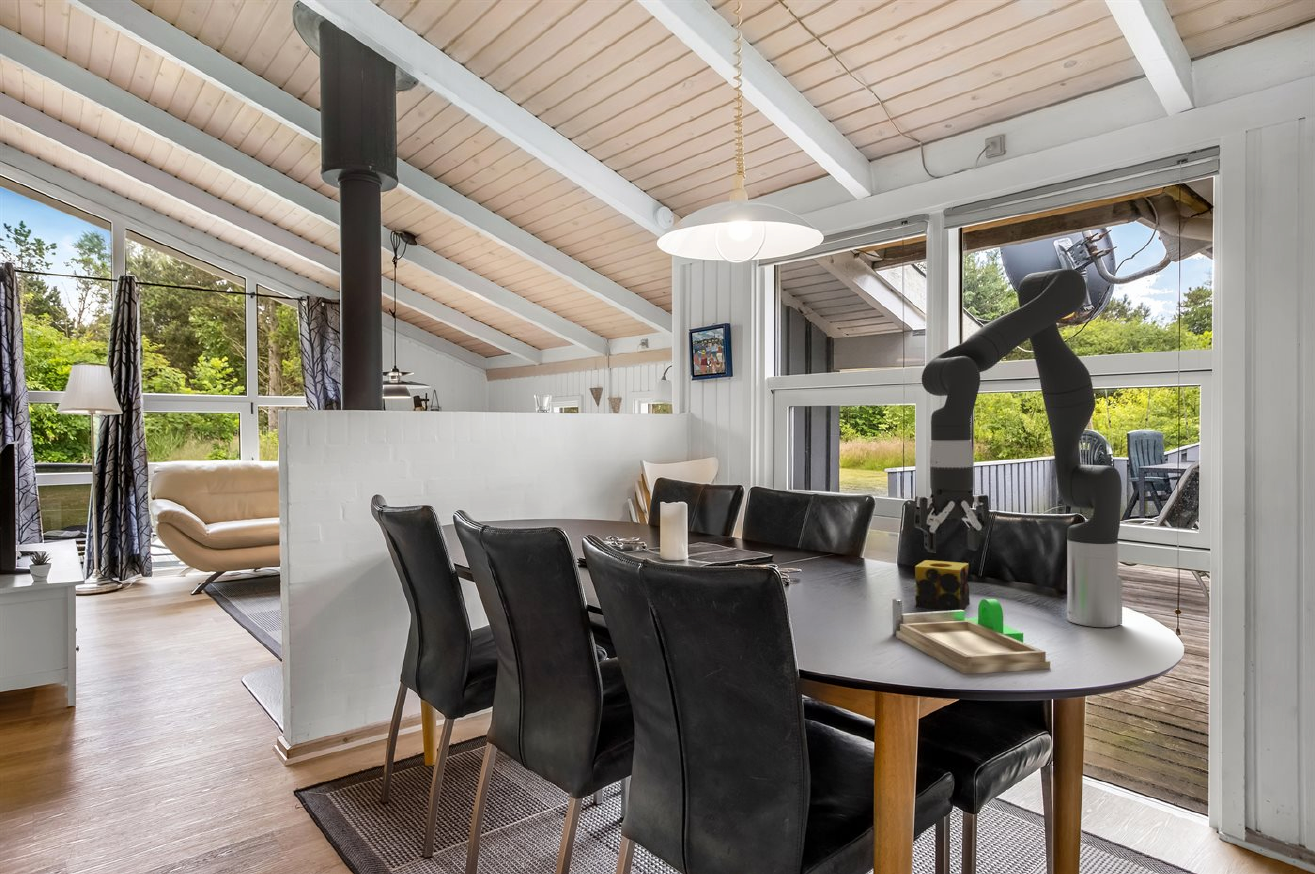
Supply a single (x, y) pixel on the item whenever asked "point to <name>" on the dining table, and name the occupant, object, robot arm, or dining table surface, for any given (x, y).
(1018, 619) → the dining table surface
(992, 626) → the mechanical part
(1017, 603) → the dining table surface
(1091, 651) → the dining table surface
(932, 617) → the l-shaped metal bracket
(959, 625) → the wooden tray
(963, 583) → the yellow spotted cube
